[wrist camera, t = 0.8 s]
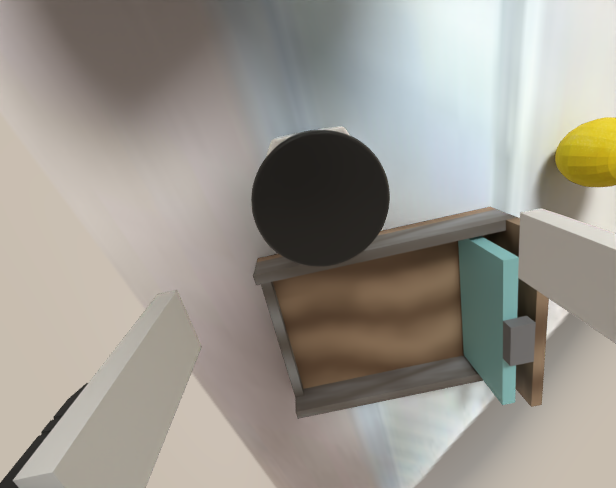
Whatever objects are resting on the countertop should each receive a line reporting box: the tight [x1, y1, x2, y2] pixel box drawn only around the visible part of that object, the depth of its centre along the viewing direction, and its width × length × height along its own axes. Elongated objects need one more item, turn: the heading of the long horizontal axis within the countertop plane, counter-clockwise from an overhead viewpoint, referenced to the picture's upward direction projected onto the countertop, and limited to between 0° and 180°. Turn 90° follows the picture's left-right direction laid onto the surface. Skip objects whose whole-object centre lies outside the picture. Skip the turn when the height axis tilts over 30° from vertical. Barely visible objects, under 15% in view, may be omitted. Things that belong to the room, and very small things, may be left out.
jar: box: [251, 127, 390, 267], centre depth 24 cm, size 9×8×12 cm
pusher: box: [458, 236, 536, 405], centre depth 29 cm, size 15×2×8 cm, turn 12°
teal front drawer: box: [253, 207, 549, 419], centre depth 31 cm, size 18×24×8 cm
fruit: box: [555, 118, 616, 187], centre depth 26 cm, size 6×6×8 cm
